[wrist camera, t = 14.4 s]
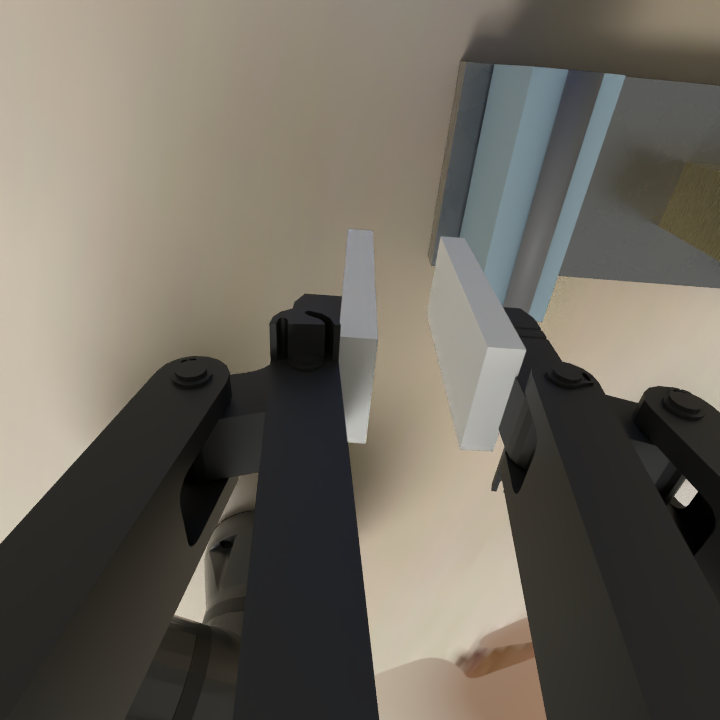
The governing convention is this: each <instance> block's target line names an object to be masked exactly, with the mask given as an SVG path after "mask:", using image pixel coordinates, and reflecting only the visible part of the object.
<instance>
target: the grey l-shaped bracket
mask: <svg viewBox="0 0 720 720" xmlns="http://www.w3.org/2000/svg"><path fill="white" fill-rule="evenodd" d="M493 69H494V64H486V63H476V62H464V61H460V66H459V72H458V78H457V84H456V90H455V96H454V102H453V108H452V114H451V120H450V126H449V132H448V138H447V144H446V150H445V156H444V162H443V168H442V174H441V180H440V186H439V192H438V198H437V204H436V210H435V216H434V222H433V228H432V234H431V240H430V246H429V252H428V258H429V261H430V264H431V266H435V265H436V259H437V253H438V248H439V242H440V237H441V236H444V237H456V238H459V237H460V233H461V228H462V223H463V218H464V213H465V208H466V203H467V198H468V193H469V188H470V183H471V178H472V173H473V168H474V163H475V158H476V153H477V148H478V143H479V138H480V134H481V129H482V124H483V119H484V114H485V109H486V104H487V99H488V94H489V89H490V84H491V79H492V74H493ZM686 162H696V163H707V164H719V165H720V86H719V85H708V84H698V83H687V82H676V81H666V80H655V79H645V78H634V77H625V79H624V82H623V85H622V88H621V91H620V94H619V97H618V100H617V103H616V106H615V109H614V112H613V115H612V118H611V121H610V124H609V126H608V129H607V132H606V135H605V138H604V141H603V144H602V147H601V150H600V153H599V156H598V159H597V162H596V165H595V168H594V171H593V174H592V177H591V180H590V183H589V186H588V189H587V192H586V194H585V197H584V200H583V203H582V206H581V209H580V212H579V215H578V218H577V221H576V224H575V227H574V230H573V233H572V236H571V239H570V242H569V245H568V248H567V251H566V254H565V257H564V259H563V262H562V265H561V268H560V271H559V274H558V276H568V277H581V278H593V279H606V280H619V281H632V282H645V283H658V284H671V285H683V286H696V287H709V288H720V261H718V260H716V259H714V258H713V257H711V256H709V255H707V254H706V253H704V252H702V251H700V250H699V249H697V248H695V247H693V246H692V245H690V244H688V243H687V242H685V241H683V240H681V239H680V238H678V237H676V236H674V235H673V234H671V233H669V232H667V231H666V230H664V229H662V228H660V227H659V223H660V221H661V219H662V216H663V214H664V212H665V210H666V207H667V205H668V203H669V201H670V198H671V196H672V194H673V191H674V189H675V187H676V185H677V182H678V180H679V178H680V175H681V173H682V171H683V169H684V166H685V164H686Z"/></svg>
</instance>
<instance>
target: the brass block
mask: <svg viewBox="0 0 720 720" xmlns="http://www.w3.org/2000/svg"><path fill="white" fill-rule="evenodd" d="M659 227H660V228H662V229H664V230H666V231H667V232H669V233H671V234H673V235H674V236H676V237H678V238H680V239H681V240H683V241H685V242H687V243H688V244H690V245H692V246H693V247H695V248H697V249H699V250H700V251H702V252H704V253H706V254H707V255H709V256H711V257H713V258H714V259H716V260H718V261H720V165H719V164H707V163H696V162H686V164H685V166H684V169H683V171H682V173H681V175H680V178H679V180H678V182H677V185H676V187H675V189H674V191H673V194H672V196H671V198H670V201H669V203H668V205H667V207H666V210H665V212H664V214H663V216H662V219H661V221H660V223H659Z"/></svg>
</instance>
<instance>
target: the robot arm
mask: <svg viewBox="0 0 720 720" xmlns="http://www.w3.org/2000/svg"><path fill="white" fill-rule="evenodd" d="M427 317H428V321H429V325H430V329H431V333H432V337H433V341H434V345H435V350H436V354H437V358H438V362H439V366H440V370H441V374H442V378H443V382H444V386H445V391H446V395H447V399H448V403H449V407H450V411H451V415H452V419H453V423H454V427H455V432H456V436H457V440H458V444H459V448H460V449H461V450H476V451H492V452H493V450H494V447H495V444H496V441H497V438H498V435H499V432H500V435H501V438H502V440H503V443H504V446H505V447H504V450H503V453H502V456H501V459H500V462H499V464H498V467H497V470H496V473H495V476H494V479H493V482H492V488H491V491H497V488H498V485H499V483H500V481H501V480H502V482H503V488H504V493H505V498H506V504H507V509H508V514H509V520H510V525H511V530H512V536H513V541H514V546H515V552H516V557H517V562H518V568H519V573H520V578H521V584H522V589H523V594H524V600H525V605H526V611H527V616H528V621H529V627H530V632H531V637H532V643H533V648H534V653H535V658H536V663H537V669H538V674H539V680H540V685H541V691H542V696H543V701H544V707H545V712H546V717H547V720H720V412H719V411H717V410H716V409H715V408H714V407H713V406H711V405H710V404H708V403H707V402H705V401H704V400H702V399H701V398H699V397H697V396H695V395H692V394H691V393H690V392H688V391H685V390H682V389H681V390H680V389H678V388H674V387H663V386H657V387H651V388H648V389H647V390H646V391H645V392H644V394H643V395H642V397H641V399H640V401H639V403H636V402H632V401H628V400H624V399H620V398H616V397H612V396H609V395H605V393H604V391H603V389H602V388H601V386H600V384H599V382H598V381H597V380H596V379H595V378H594V377H593V375H591V374H590V373H588V372H587V371H585V370H584V369H582V368H580V367H577V366H575V365H572V364H570V363H566V362H562V360H561V359H560V357H559V356H558V354H557V353H556V351H555V350H554V348H553V347H552V345H551V344H550V342H549V340H546V338H547V337H546V336H545V334H544V333H543V331H541V328H540V327H539V325H538V324H537V322H536V320H535V319H534V318H533V317H532V316H530V315H529V314H527V313H526V312H525V311H523V310H522V309H521V308H509V307H502V305H501V303H500V301H499V299H498V298H497V296H496V294H495V292H494V290H493V289H492V287H491V285H490V283H489V281H488V280H487V278H486V276H485V274H484V272H483V271H482V269H481V267H480V265H479V263H478V262H477V260H476V258H475V256H474V254H473V253H472V251H471V249H470V247H469V245H468V243H467V242H466V240H465V238H456V237H444V236H441V237H440V242H439V248H438V253H437V259H436V265H435V270H434V276H433V281H432V287H431V293H430V298H429V304H428V309H427ZM269 325H270V355H271V363H270V365H268V366H267V367H265V368H262V369H260V370H257V371H253V372H248V373H241V374H233V375H230V372H229V370H228V368H227V365H225V364H224V363H222V362H221V361H220V360H217V359H214V358H210V357H202V356H191V357H185V358H180V359H177V360H175V361H172V362H170V363H167V364H166V365H164V366H163V367H162V368H160V369H159V370H158V371H157V372H156V373H155V374H154V375H153V376H152V377H151V378H150V379H149V380H148V382H147V383H146V384H145V385H144V386H143V387H142V388H141V389H140V390H139V392H138V393H137V394H136V395H135V396H134V397H133V398H132V399H131V400H130V401H129V403H128V404H127V405H126V406H125V407H124V408H123V409H122V410H121V411H120V413H119V414H118V415H117V416H116V417H115V418H114V419H113V420H112V421H111V422H110V424H109V425H108V426H107V427H106V428H105V429H104V430H103V431H102V432H101V433H100V435H99V436H98V437H97V438H96V439H95V440H94V441H93V442H92V443H91V445H90V446H89V447H88V448H87V449H86V450H85V451H84V452H83V453H82V454H81V456H80V457H79V458H78V459H77V460H76V461H75V462H74V463H73V464H72V465H71V467H70V468H69V469H68V470H67V471H66V472H65V473H64V474H63V475H62V477H61V478H60V479H59V480H58V481H57V482H56V483H55V484H54V485H53V486H52V488H51V489H50V490H49V491H48V492H47V493H46V494H45V495H44V496H43V498H42V499H41V500H40V501H39V502H38V503H37V504H36V505H35V506H34V507H33V509H32V510H31V511H30V512H29V513H28V514H27V515H26V516H25V517H24V518H23V520H22V521H21V522H20V523H19V524H18V525H17V526H16V527H15V528H14V530H13V531H12V532H11V533H10V534H9V535H8V536H7V537H6V538H5V539H4V541H3V542H2V543H1V544H0V720H379V714H378V705H377V696H376V687H375V679H374V670H373V661H372V652H371V643H370V634H369V626H368V617H367V608H366V599H365V590H364V581H363V572H362V564H361V555H360V546H359V537H358V528H357V519H356V511H355V502H354V493H353V484H352V475H351V466H350V458H349V449H348V442H349V443H365V444H366V438H367V429H368V421H369V412H370V403H371V395H372V386H373V378H374V369H375V361H376V352H377V343H378V329H377V309H376V289H375V268H374V248H373V231H369V230H357V229H348V238H347V249H346V260H345V270H344V281H343V292H342V296H329V295H316V294H304V295H303V296H301V297H300V298H299V299H298V300H296V301H295V302H294V306H293V309H289V310H286V311H282V312H280V313H278V314H277V315H275V316H274V317H273V318H272V320H271V321H270V323H269ZM255 472H259V476H258V485H257V495H256V504H255V510H254V511H248V512H243V513H240V514H237V515H234V516H232V517H230V518H228V519H226V520H225V521H223V522H222V523H220V524H219V525H218V526H217V527H216V525H217V523H218V521H219V519H220V517H221V515H222V513H223V511H224V508H225V506H226V504H227V502H228V500H229V498H230V496H231V494H232V492H233V490H234V487H235V485H236V483H237V480H238V476H240V475H245V474H250V473H255ZM685 479H687V480H688V481H689V482H690V483H691V484H692V485H693V486H694V487H695V488H696V490H697V491H698V493H697V494H696V495H695V497H694V498H693V500H692V501H691V502H690V504H689V505H688V506H686V507H685V506H683V505H682V504H681V503H680V502H678V500H677V499H676V498H675V497H674V496H675V494H676V493H677V491H678V490H679V488H680V487H681V485H682V484H683V482H684V481H685ZM215 527H216V528H215ZM209 540H210V541H209ZM208 542H209V544H208ZM207 544H208V547H207V550H206V554H205V593H206V612H205V616H204V619H203V623H202V624H201V623H198V622H195V621H192V620H189V619H186V618H182V617H179V616H176V615H174V614H175V612H176V610H177V608H178V605H179V603H180V601H181V599H182V597H183V595H184V593H185V591H186V589H187V586H188V584H189V582H190V580H191V578H192V576H193V574H194V572H195V570H196V568H197V565H198V563H199V561H200V559H201V557H202V555H203V553H204V551H205V549H206V546H207Z"/></svg>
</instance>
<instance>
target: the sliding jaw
mask: <svg viewBox="0 0 720 720" xmlns="http://www.w3.org/2000/svg"><path fill="white" fill-rule="evenodd" d="M625 76H626V75H618V74H608V73H601V72H591V71H580V70H566V69H555V68H545V67H534V66H517V65H499V64H494V69H493V74H492V79H491V84H490V89H489V94H488V99H487V104H486V109H485V114H484V119H483V124H482V129H481V134H480V138H479V143H478V148H477V153H476V158H475V163H474V168H473V173H472V178H471V183H470V188H469V193H468V198H467V203H466V208H465V213H464V218H463V223H462V228H461V233H460V237H459V238H465V240H466V242H467V243H468V245H469V247H470V249H471V251H472V253H473V254H474V256H475V258H476V260H477V262H478V263H479V265H480V267H481V269H482V271H483V272H484V274H485V276H486V278H487V280H488V281H489V283H490V285H491V287H492V289H493V290H494V292H495V294H496V296H497V298H498V299H499V301H500V303H501V305H502V307H509V308H521V309H522V310H523V311H525V312H526V313H527V314H529V315H530V316H532V317H533V318H534V319H535V320H536V322H543V319H544V316H545V313H546V310H547V307H548V304H549V301H550V298H551V295H552V292H553V289H554V286H555V283H556V280H557V277H558V274H559V271H560V268H561V265H562V262H563V259H564V257H565V254H566V251H567V248H568V245H569V242H570V239H571V236H572V233H573V230H574V227H575V224H576V221H577V218H578V215H579V212H580V209H581V206H582V203H583V200H584V197H585V194H586V192H587V189H588V186H589V183H590V180H591V177H592V174H593V171H594V168H595V165H596V162H597V159H598V156H599V153H600V150H601V147H602V144H603V141H604V138H605V135H606V132H607V129H608V126H609V124H610V121H611V118H612V115H613V112H614V109H615V106H616V103H617V100H618V97H619V94H620V91H621V88H622V85H623V82H624V79H625Z"/></svg>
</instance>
